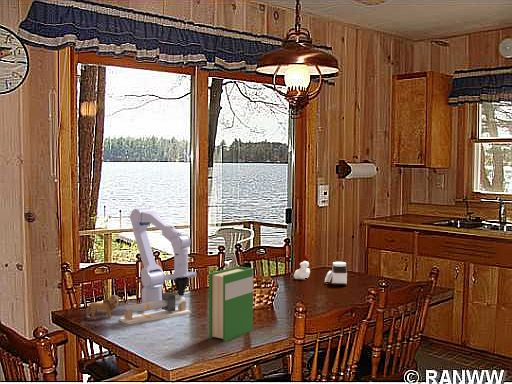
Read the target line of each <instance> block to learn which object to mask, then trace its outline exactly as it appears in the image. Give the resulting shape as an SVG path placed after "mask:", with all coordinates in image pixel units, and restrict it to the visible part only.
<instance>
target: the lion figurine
mask: <svg viewBox="0 0 512 384" xmlns="http://www.w3.org/2000/svg"><path fill="white" fill-rule="evenodd" d="M119 302H120V299H119V296H118V295H116V294H113V295H111V296H109V297H108V298H107V299H105V301H103V302H97V301H96V302H95V301H94V302H93V301H92V302H90V303H89V304H88V306H87V308H86V313H85V315H84V316H83V319H86V318H87V319H90V318H92V319H93V320H97V317H96V316H95V313H96V310H97V312H106V317H107V318H109V319H112V318H113V317H112V316H111V315H112V311H114V310H116V309H117V307H118V306H119ZM90 314H91V316H90Z"/></svg>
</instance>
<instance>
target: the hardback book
mask: <svg viewBox="0 0 512 384" xmlns="http://www.w3.org/2000/svg"><path fill="white" fill-rule="evenodd" d="M253 316H254V268H252V267H245V266H233V267H230V268H229V267H228V268H225V269H222V270H216V271H212V272H209V273H208V339H211V340H212V339H213V338H218V339H222V341H223V342H228V341H230V340H233V339H235V338H238V337H240V336H243V335H245V334H248V333H250V332H252V331H253V330H254V325H253V323H254V321H253V320H254V317H253Z"/></svg>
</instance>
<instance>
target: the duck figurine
mask: <svg viewBox="0 0 512 384" xmlns="http://www.w3.org/2000/svg"><path fill="white" fill-rule="evenodd" d="M299 266H300V268H299V269H296V270H295V272H293V273H294V274H293V278H294V279H295V280H306V279H305V278H307V279H308V278H309V277H310V274H311V269H310V268H308V267H310V263H309V261H306V260H303V261H302V262H299Z"/></svg>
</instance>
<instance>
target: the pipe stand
mask: <svg viewBox="0 0 512 384" xmlns="http://www.w3.org/2000/svg"><path fill="white" fill-rule="evenodd" d="M186 302H187V300H186V298H185V296H180V297H175V306H177V307H175V311H171V312H168V311H166V310H163V309H162V307H168V300H167V299H166V300H160V301H154V302H146V303H142V302H141V303H135V304H129V305H124V308H123V309H124V312H123V313H124V315H123V317H119V321H120V322H122V323H124V324H126V325H133V324H139V323H143V322H144V323H146V322H150V321H154V320H155V321H156V320H160V319H167V318H173V317H177V316H179V317H180V316H183V315H184V316H185V315H191V313H192V312H191V310H189V309H187V303H186ZM155 309H162V310H158V311H152V312H144V313H139V314H134V315H133V313H137V312H143V311H149V310H155Z"/></svg>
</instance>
